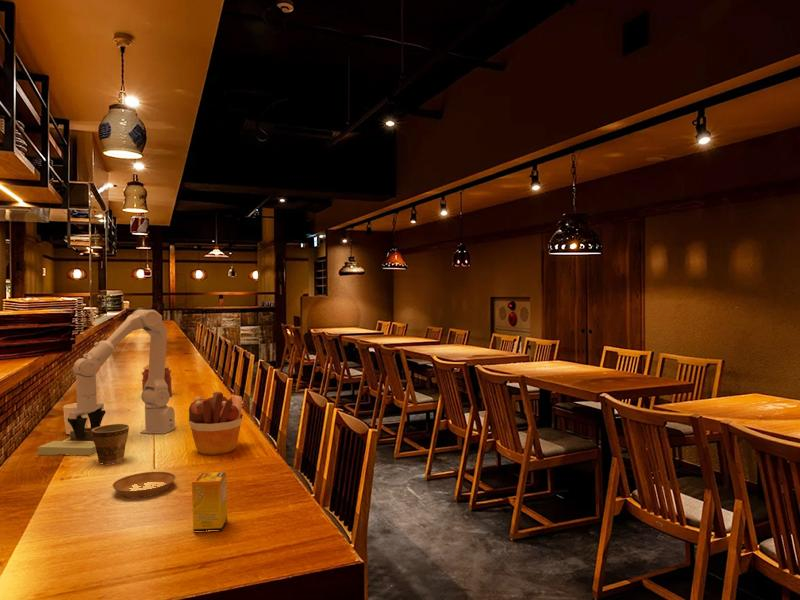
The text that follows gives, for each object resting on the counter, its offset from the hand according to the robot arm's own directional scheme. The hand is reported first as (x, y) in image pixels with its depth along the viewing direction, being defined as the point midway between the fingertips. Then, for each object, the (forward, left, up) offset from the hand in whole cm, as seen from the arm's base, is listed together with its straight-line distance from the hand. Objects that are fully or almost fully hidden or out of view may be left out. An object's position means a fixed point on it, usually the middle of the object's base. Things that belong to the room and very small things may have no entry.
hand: (87, 435), depth 186 cm
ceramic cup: (-17, +15, -3) cm, 23 cm away
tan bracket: (0, +4, -3) cm, 5 cm away
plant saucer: (-42, +37, -4) cm, 56 cm away
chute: (0, 0, -3) cm, 3 cm away
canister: (+21, -79, -3) cm, 82 cm away
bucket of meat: (-46, +3, -3) cm, 46 cm away
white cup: (+15, -15, -3) cm, 21 cm away
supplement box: (-69, +57, -3) cm, 90 cm away
